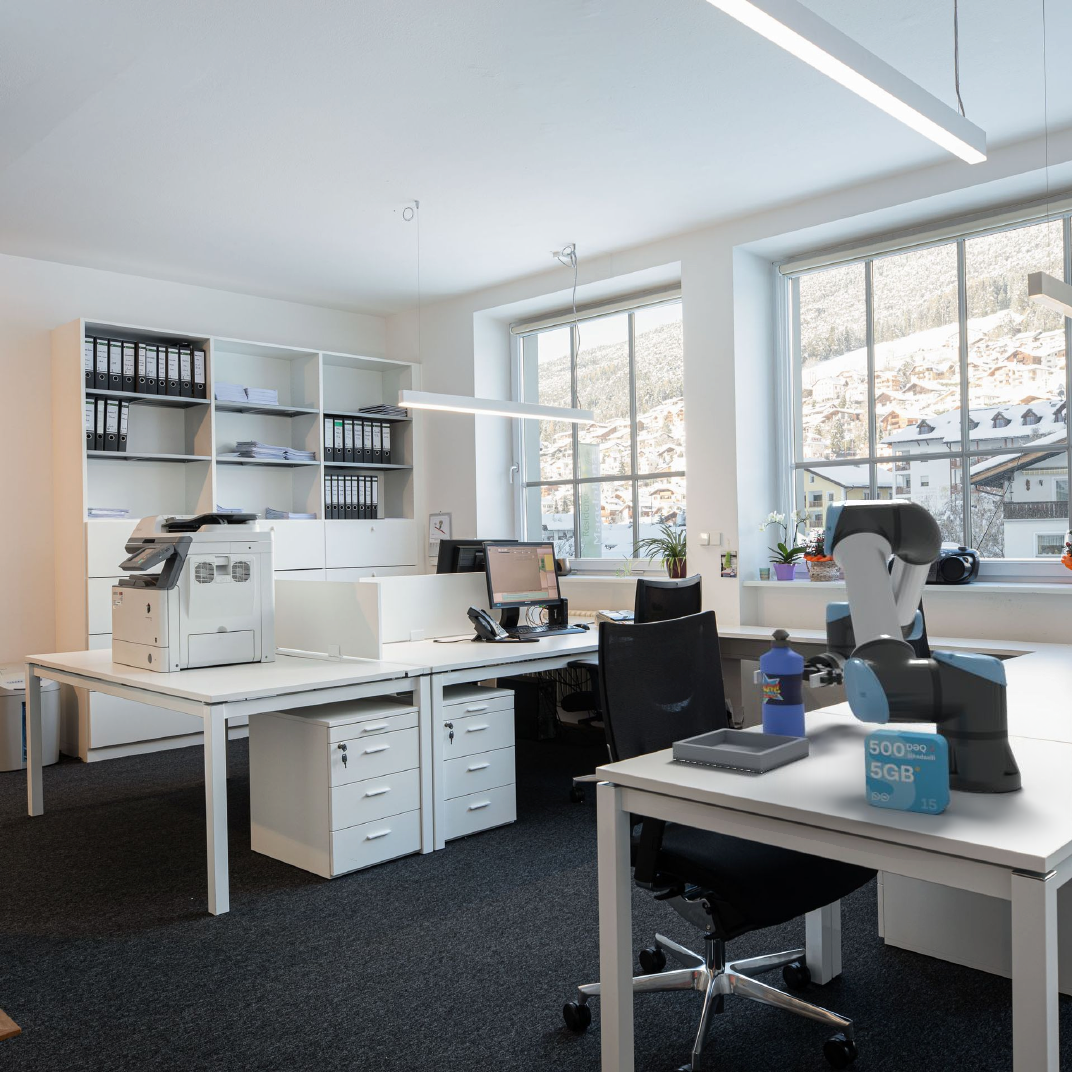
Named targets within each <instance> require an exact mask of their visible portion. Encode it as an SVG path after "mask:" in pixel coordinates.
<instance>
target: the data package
mask: <svg viewBox="0 0 1072 1072" xmlns="http://www.w3.org/2000/svg"><path fill="white" fill-rule="evenodd" d="M863 745H864V770H865V771H864V772H865V773H864V774H865V796H866V800H867V802H868V803H869V804H870V805H871V806H873V807H877V808H882V807H883V809H889V808H891V810H898V811H905V812H912V813H921V814H928V815H938V814H941V812H943V811H944V810H945V809H946V808H947V806H948V805H949V804H950V800H951V799H950V796H951V795H950V789H949V768H948V744H947V741H946V739H945V738H944V737H943V736H941V735H939V734H936V733H930V732H918V731H908V730H907V731H905V730H897V729H896V730H894V729H883V728H879V729H876V730H874V731H872V732H870V733H869V734H867V735H866V736H865V738H864V741H863Z"/></svg>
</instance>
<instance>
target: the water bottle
mask: <svg viewBox="0 0 1072 1072" xmlns="http://www.w3.org/2000/svg"><path fill="white" fill-rule="evenodd" d="M771 636H772V637H773V639H770V648H771V647H772V648H771V649H770V651H768V652H766V653H764V654H763V655H761V656H759V668H760V671H761V675H762V688H763V692H762V701H761V711H762V712H761V713H762V714H761V715H762V733H767V734H776V735H784V736H793V737H801V738H806V720H805V719H806V718H805V702H804V696H803V690H802V689H803V680H802V679H803V672H804V664H805V663H804V656H803V655H800V654H799V653H797V652H795V651H793V650H792V649H791V647H792V640H791V639H789V637H790V634H789V632H788V631H787V630H786V629H775V631H774V632H772V634H771Z"/></svg>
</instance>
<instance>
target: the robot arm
mask: <svg viewBox="0 0 1072 1072" xmlns="http://www.w3.org/2000/svg"><path fill="white" fill-rule="evenodd" d="M824 523H825V524H824V541H823V553H824V555H825V556H827V557H830V558H833V561H834V563H835V564H836V566H837V567H839V568H840V569H842V573H843V576H844V582H845V583H844V584H845V589H846V595H847V600H848V601H833V602H832V601H831V602H828V604H827V605H826V609H825V626H826V627H825V629H826V652H825V653H821V654H817V655H813V656H810V657H809V658H808V659H807V660H806V662H805V663H804V672H803V679H802V681H806V682H808V683H809V688H810V689H814V688H824V687H828V686H829V687H831V688H832V687H834V686H835V684H836V685H837V686H838V685H839V686H841V685H843V683H844V686H845V689H844V690H845V695H846V698H847V703H848V706H849V708H850V710H851V713H852V714H853V716H854V717H855V718H856V719H857V720H858V721H860V722H861V723H868V724H869V723H870V724H871V723H872V724H873V723H874V724H879V725H885V724H935V727H936V728H935V731H936V733H935V734H939V735H941V736H943V737H944V738H945V739H946V741H947V744H948V768H949V790H954V791H962V792H971V793H1004V792H1005V793H1006V792H1007V793H1008V792H1013V791H1015V790H1016V791H1017V790H1019V789H1020V788H1021V787H1022V775H1021V771H1020V767H1019V766H1018V763H1017V761H1016V758H1015V756H1014V753H1013V750H1012V748H1011V745H1010V742H1009V725H1008V723H1009V722H1008V721H1009V720H1008V702H1007V701H1008V699H1007V687H1008V682H1007V677H1006V669H1005V664H1004V663H1003V661H1002V660H1001V659H999V658H998V657H995V656H990V655H985V654H981V653H975V652H969V651H968V652H967V651H966V652H965V651H959V650H949V649H935V650H934V651H933V653H932V654H931V655H932V658H929V657H928V658H926V657H925V658H923V657H922V658H921V657H917V655H916V654H917V653H916V651H915V649H914V647H913V646H912V645H911V644H910V643H908V642H907V641H909V640H918V639H920V638H921V637H922V635H923V632H924V631H923V628H924V624H923V623H924V621H923V619H924V618H923V615H922V612H921V611H920V610H919V606H920V603H921V599H922V595H923V592H924V589H925V585H926V583H927V579H928V575H929V571H930V568H931V565H932V564H933V563H934V562H935V561H936V560H937V559H938V558H939V555H940V552H941V549H942V545H943V537H942V535H943V534H942V531H941V529H940V526H939V523H938V522H937V521H936V519H935V518H934V515H932V513H931V512H930V511H928V510H927V508H925V507H923V506H922V505H920V504H919V503H916V502H914V501H912V500H908V499H901V498H898V499H874V500H873V499H871V500H867V499H866V500H847V499H846V500H843V501H835V502H831V503H830V504H829V505H828V506H827V508H826V512H825V522H824ZM891 555H895V556H894V560H893V564H892V568H891V571H890V572H891V573H890V572H889V569H888V565H887V562H888V561H889V560H890V558H891ZM753 684H756V685H757V684H763V682H762V675H761V671H760V667H759V668H758V670H755V671H753Z"/></svg>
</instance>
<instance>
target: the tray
mask: <svg viewBox="0 0 1072 1072" xmlns="http://www.w3.org/2000/svg"><path fill="white" fill-rule="evenodd" d="M809 741H810V740H809V738H808V737H805V738H801V737H793V736H784V735H776V734H767V733H763V732H757V731H752V730H751V731H748V730H741V729H734V728H733V729H731V728H724V727H723V728H720V729H718V730H713V731H710V732H706V733H703V734H700V735H696V736H692V737H688V738H686V739H682V740H679V741H674V742H672V760H673V759H676V760H685V761H689V762H696V763H702V764H709V765H716V766H721V767H729V768H736V769H743V770H750V771H754V772H760V773H759V774H762V773H761V772H764V773H765V771H766V772H768V771H767V770H769V771H771V770H770V769H772V770H774V769H777V768H779V766H780V767H782V766H785V765H787V764H789V763H792V762H795V761H797V760H800V759H803V758H806V757H808V756H810V749H809V748H810V746H809ZM784 764H785V765H784ZM781 765H782V766H781ZM721 767H720V768H721ZM776 767H777V768H776ZM773 768H774V769H773ZM754 772H753V773H754Z"/></svg>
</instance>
